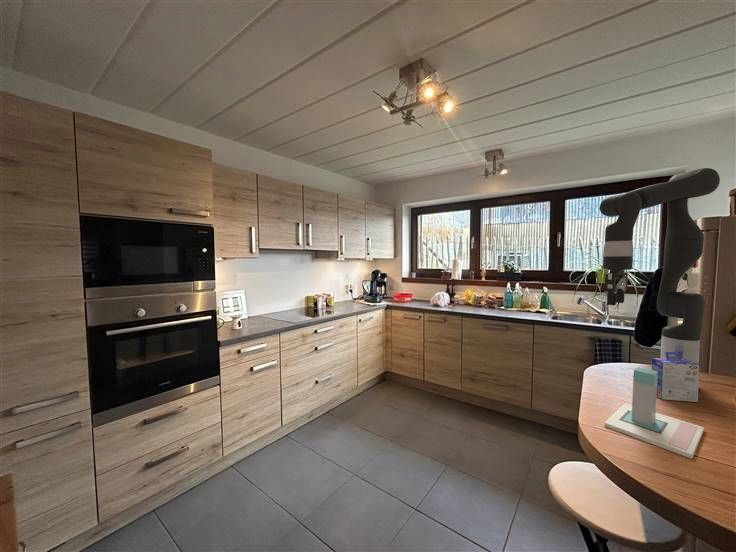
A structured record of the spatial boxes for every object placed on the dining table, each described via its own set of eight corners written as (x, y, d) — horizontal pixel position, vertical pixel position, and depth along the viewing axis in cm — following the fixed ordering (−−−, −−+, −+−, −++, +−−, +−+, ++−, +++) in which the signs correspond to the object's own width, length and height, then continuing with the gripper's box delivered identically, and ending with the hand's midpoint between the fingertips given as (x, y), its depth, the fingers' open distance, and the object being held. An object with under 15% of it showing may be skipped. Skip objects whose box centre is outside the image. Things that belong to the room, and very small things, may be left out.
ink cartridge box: (684, 394, 97) (686, 351, 96) (699, 402, 91) (702, 357, 90) (649, 392, 99) (651, 350, 98) (662, 400, 93) (664, 355, 92)
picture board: (624, 406, 89) (624, 402, 89) (703, 431, 76) (704, 427, 76) (604, 426, 79) (604, 422, 79) (692, 458, 66) (692, 454, 66)
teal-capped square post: (635, 415, 82) (638, 366, 81) (655, 422, 79) (657, 371, 78) (631, 420, 80) (633, 370, 79) (651, 427, 76) (654, 374, 76)
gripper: (626, 255, 89) (623, 307, 90) (638, 255, 97) (636, 303, 98) (596, 255, 95) (594, 304, 96) (610, 255, 103) (608, 300, 104)
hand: (615, 303), depth 97 cm, fingers open, 8 cm apart
